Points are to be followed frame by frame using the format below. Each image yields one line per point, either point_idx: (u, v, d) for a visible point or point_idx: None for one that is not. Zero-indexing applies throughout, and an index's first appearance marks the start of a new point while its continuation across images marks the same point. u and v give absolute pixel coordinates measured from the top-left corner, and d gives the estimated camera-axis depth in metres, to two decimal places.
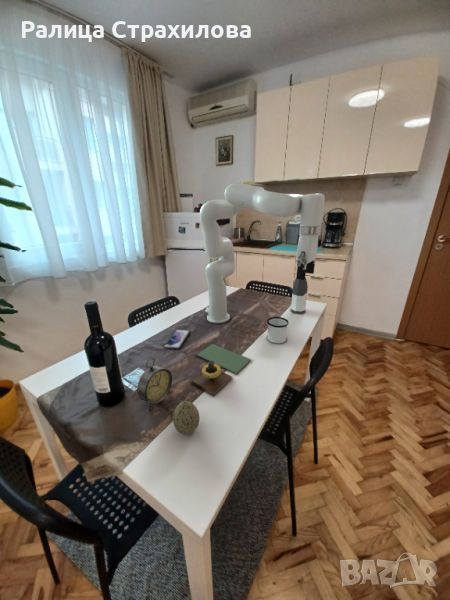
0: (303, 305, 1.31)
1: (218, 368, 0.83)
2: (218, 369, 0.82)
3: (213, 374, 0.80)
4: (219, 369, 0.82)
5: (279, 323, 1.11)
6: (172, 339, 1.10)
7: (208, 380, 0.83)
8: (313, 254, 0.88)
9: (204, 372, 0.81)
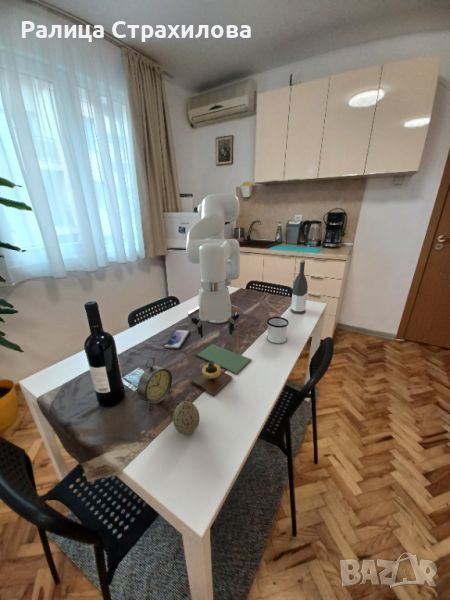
0: (303, 305, 1.31)
1: (218, 368, 0.83)
2: (218, 369, 0.82)
3: (213, 374, 0.80)
4: (219, 369, 0.82)
5: (279, 323, 1.11)
6: (172, 339, 1.10)
7: (208, 380, 0.83)
8: (214, 313, 0.73)
9: (204, 372, 0.81)
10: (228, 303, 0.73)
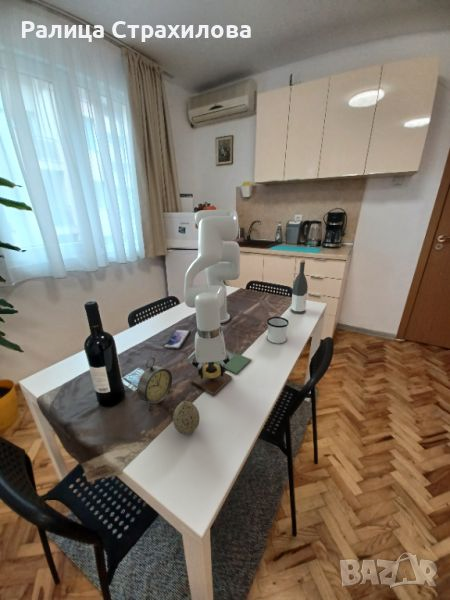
0: (303, 305, 1.31)
1: (218, 368, 0.83)
2: (218, 369, 0.82)
3: (213, 374, 0.80)
4: (219, 369, 0.82)
5: (279, 323, 1.11)
6: (172, 339, 1.10)
7: (208, 380, 0.83)
8: (209, 356, 0.78)
9: (204, 372, 0.81)
10: (222, 347, 0.78)
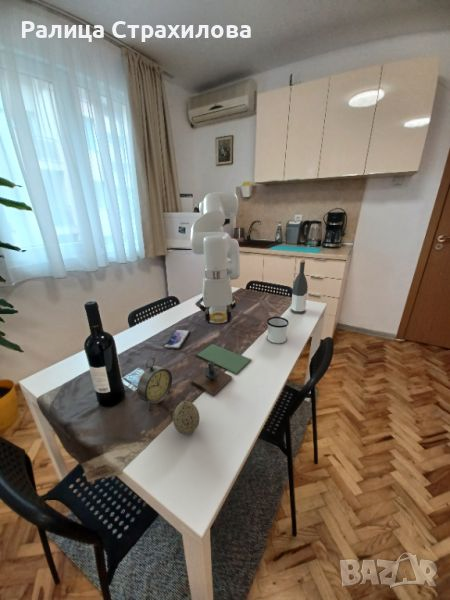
0: (303, 305, 1.31)
1: (225, 314, 0.86)
2: (225, 315, 0.85)
3: (220, 318, 0.83)
4: (226, 315, 0.85)
5: (279, 323, 1.11)
6: (172, 339, 1.10)
7: (208, 380, 0.83)
8: (216, 299, 0.80)
9: (211, 317, 0.84)
10: (229, 290, 0.80)
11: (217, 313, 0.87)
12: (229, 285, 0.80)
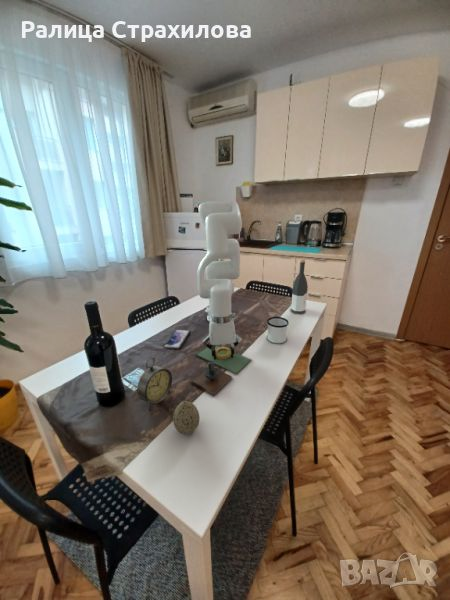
0: (303, 305, 1.31)
1: (229, 350, 0.96)
2: (229, 351, 0.96)
3: (225, 355, 0.93)
4: (229, 351, 0.96)
5: (279, 323, 1.11)
6: (172, 339, 1.10)
7: (208, 380, 0.83)
8: (222, 339, 0.91)
9: (217, 353, 0.94)
10: (233, 331, 0.91)
11: (222, 349, 0.98)
12: (233, 327, 0.90)
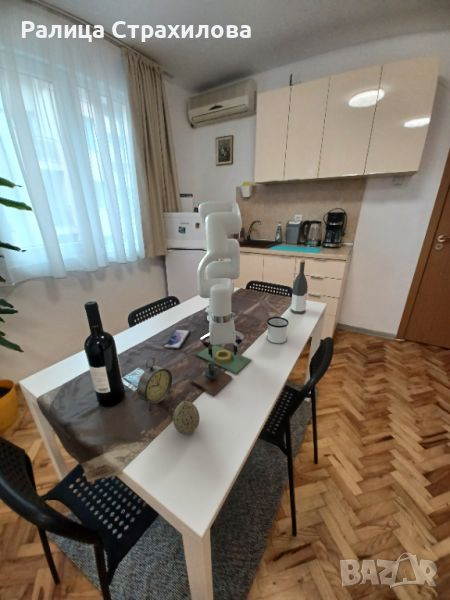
0: (303, 305, 1.31)
1: (229, 353, 0.97)
2: (229, 354, 0.96)
3: (225, 358, 0.94)
4: (230, 354, 0.96)
5: (279, 323, 1.11)
6: (172, 339, 1.10)
7: (208, 380, 0.83)
8: (222, 338, 0.91)
9: (217, 357, 0.95)
10: (233, 331, 0.91)
11: (222, 352, 0.98)
12: (233, 327, 0.90)
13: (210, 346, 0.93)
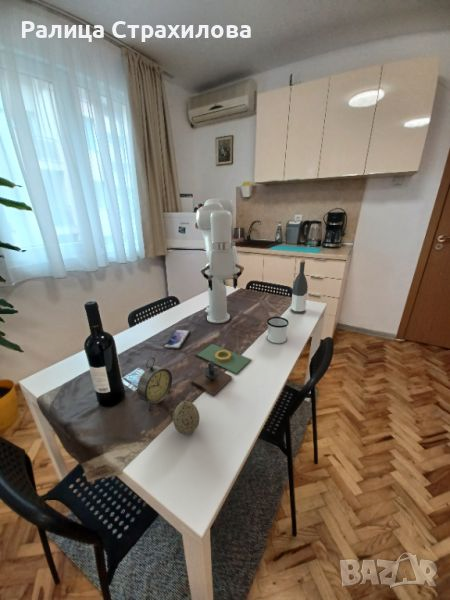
0: (303, 305, 1.31)
1: (229, 353, 0.97)
2: (229, 354, 0.96)
3: (225, 358, 0.94)
4: (230, 354, 0.96)
5: (279, 323, 1.11)
6: (172, 339, 1.10)
7: (208, 380, 0.83)
8: (221, 268, 0.91)
9: (217, 357, 0.95)
10: (233, 261, 0.91)
11: (222, 352, 0.98)
12: (233, 256, 0.91)
13: (210, 277, 0.93)
